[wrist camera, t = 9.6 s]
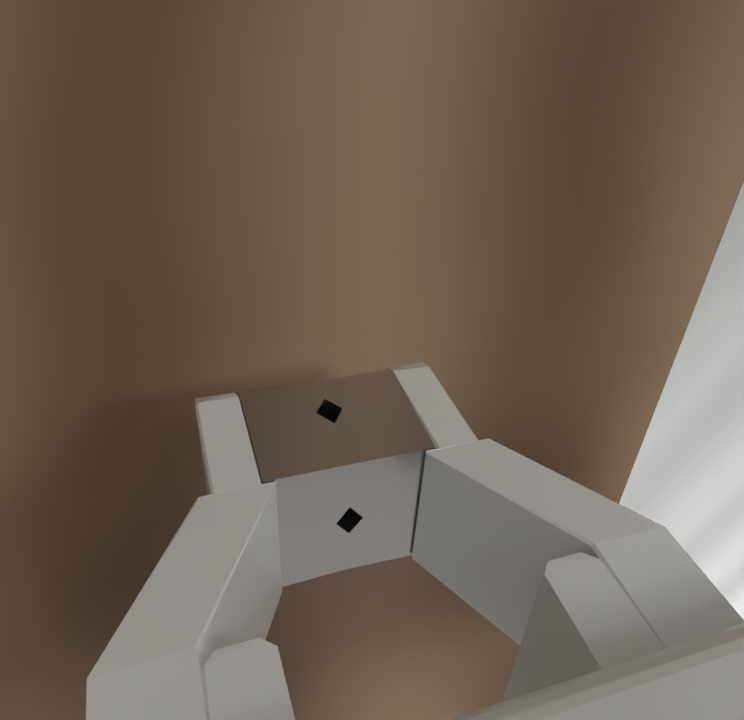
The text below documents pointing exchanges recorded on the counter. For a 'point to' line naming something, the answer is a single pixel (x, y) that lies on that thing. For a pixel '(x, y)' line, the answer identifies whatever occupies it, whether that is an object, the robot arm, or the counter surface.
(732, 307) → the counter surface
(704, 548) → the counter surface
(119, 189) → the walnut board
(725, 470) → the counter surface
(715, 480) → the counter surface
